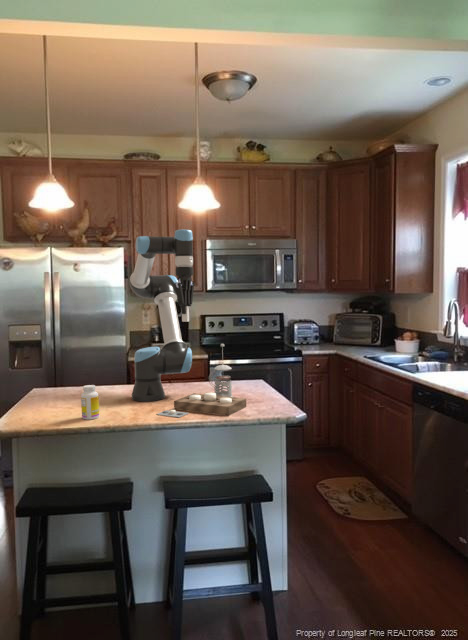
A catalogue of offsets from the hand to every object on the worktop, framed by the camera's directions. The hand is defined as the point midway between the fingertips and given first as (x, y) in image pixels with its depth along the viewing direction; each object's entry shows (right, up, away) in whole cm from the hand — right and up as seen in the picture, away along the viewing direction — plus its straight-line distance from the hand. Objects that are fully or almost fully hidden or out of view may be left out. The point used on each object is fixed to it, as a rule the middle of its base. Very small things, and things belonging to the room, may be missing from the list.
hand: (185, 321), depth 220 cm
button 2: (+11, -34, -4) cm, 36 cm away
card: (-4, -38, -13) cm, 40 cm away
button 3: (+17, -35, -7) cm, 40 cm away
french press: (+15, -35, +15) cm, 41 cm away
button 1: (+4, -35, 0) cm, 35 cm away
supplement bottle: (-36, -39, -17) cm, 55 cm away
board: (+11, -37, -4) cm, 38 cm away
